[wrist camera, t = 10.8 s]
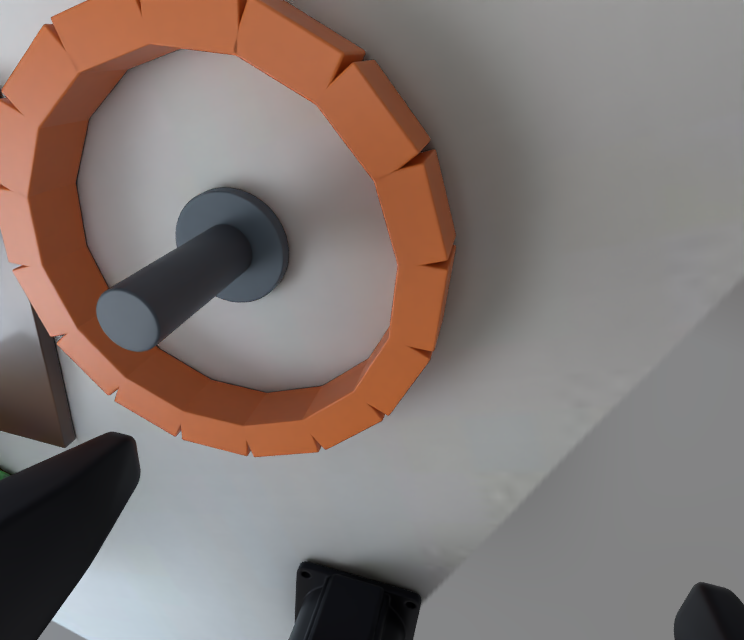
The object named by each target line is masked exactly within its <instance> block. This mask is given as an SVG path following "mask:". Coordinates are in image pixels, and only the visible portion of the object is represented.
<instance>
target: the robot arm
mask: <svg viewBox="0 0 744 640" xmlns="http://www.w3.org/2000/svg"><path fill="white" fill-rule="evenodd" d="M140 472H141V471H140V464H139V458H138V452H137V446H136V441H135V440H134V438H133V437H131V436H129V435H125V434H121V433H117V432H108V433H105V434H103V435H100V436H98V437H96V438H94V439H91V440H89V441H87V442H85V443H82V444H80V445H78V446H76V447H73V448H71V449H69V450H67V451H64V452H62V453H60V454H58V455H55V456H53V457H51V458H49V459H46V460H44V461H42V462H40V463H38V464H35V465H33V466H31V467H29V468H26V469H24V470H22V471H20V472H17V473H15V474H13V475H11V476H8V477H6V478H4V479H2V480H0V640H37V639H38V638H39V637H40V635H41V634H42V632H43V631H44V630H45V628H46V627H47V625H48V624H49V623H50V621H51V620H52V618H53V617H54V616H55V614H56V613H57V611H58V610H59V609H60V607H61V606H62V604H63V603H64V602H65V600H66V599H67V597H68V596H69V595H70V593H71V592H72V590H73V589H74V588H75V586H76V585H77V584H78V582H79V581H80V579H81V578H82V576H83V575H84V573H85V572H86V571H87V569H88V568H89V566H90V565H91V563H92V561H93V560H94V558H95V557H96V555H97V553H98V552H99V550H100V548H101V547H102V545H103V543H104V541H105V540H106V538H107V536H108V534H109V533H110V531H111V529H112V528H113V526H114V524H115V522H116V521H117V519H118V517H119V516H120V514H121V512H122V510H123V509H124V507H125V505H126V504H127V502H128V500H129V498H130V497H131V495H132V493H133V492H134V490H135V488H136V486H137V484H138V482H139V479H140ZM420 605H421V597H420V596H419V595H418V594H417V593H415V592H412V591H408V590H405V589H401V588H398V587H394V586H391V585H387V584H384V583H381V582H377V581H374V580H370V579H367V578H363V577H360V576H356V575H353V574H349V573H346V572H342V571H339V570H335V569H332V568H328V567H325V566H321V565H318V564H314V563H311V562H306V561H305V562H302V563H300V566H299V568H298V570H297V581H296V603H295V625H294V627H293V630H292V632H291V635H290V638H289V640H413V637H414V632H415V628H416V623H417V619H418V615H419V610H420ZM674 637H675V640H744V604H743V603H742V602H741V601H740V599H739V598H738V597H737V596H736V595H735V594H734V593H733V592H732V591H730V590H729V589H726V588H723V587H719V586H715V585H712V584H708V583H704V582H699V583H697V584H695V585H694V586H693V588H692V589H691V591H690V593H689V594H688V596H687V598H686V600H685V601H684V603H683V604H682V606H681V608H680V609H679V611H678V613H677V615H676V618H675V623H674Z"/></svg>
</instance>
